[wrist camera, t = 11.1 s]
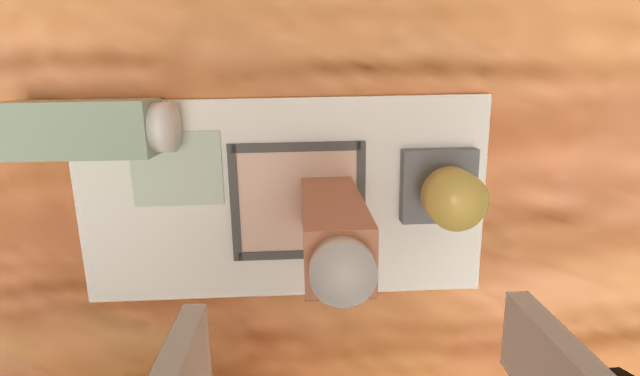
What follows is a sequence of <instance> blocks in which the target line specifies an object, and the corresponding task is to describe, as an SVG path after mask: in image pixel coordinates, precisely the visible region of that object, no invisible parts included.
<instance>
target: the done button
mask: <svg viewBox="0 0 640 376" xmlns="http://www.w3.org/2000/svg"><path fill="white" fill-rule="evenodd" d="M420 199H421V204H422V206H423V208H424V210H425V211H426V213H427V214H428V215H429V216H430V217H431V218H432V219H433V220H434V221H435V223H436V224H437V225H439V226H440V227H441V228H443V229H445V230H448V231H453V232H461V231H465V230H468V229H471V228H473V227H474V226H476V225H477V224H478V223H479V222H480V221H481V220H482V219H483V218H484V216H485V214H486V212H487V210H488V207H489V193H488V190H487V188H486V186H485V184H484V183H483V182H482V181H481V180H480V179H479V178H477V177H476V176H474V175H472V174H471V173H469V172H467V171H466V170H464V169H462V168H459V167H455V166H447V167H442V168H439V169H437V170H435V171H434V172H432V173H431V174H430V175H429V176H428V177H427V178H426V180H425V181H424V183H423V185H422V188H421V194H420Z"/></svg>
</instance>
